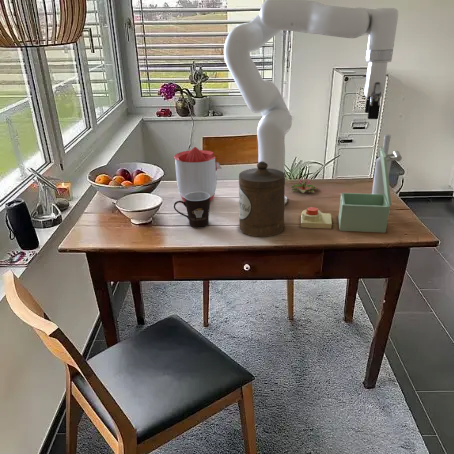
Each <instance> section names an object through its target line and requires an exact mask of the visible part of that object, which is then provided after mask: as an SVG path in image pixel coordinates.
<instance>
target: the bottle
mask: <svg viewBox="0 0 454 454" xmlns="http://www.w3.org/2000/svg"><path fill="white" fill-rule="evenodd" d="M391 136H392V134H388V133H386V134H384V137H383V145H382V148H383V151H384V153H385V155H388V154H389V148H390V142H391V138H392V137H391ZM390 158H391V157H387V158H386V159H390ZM391 166H392V161H389V162H387V168H388V177H389V178H390V171H391ZM372 182H373V183H372V190H371V194H385V192H384V183H383V175H382V166H381V158H380V156H379V157H377V158H376V159H375V168H374V175H373V181H372Z"/></svg>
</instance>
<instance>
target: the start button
mask: <svg viewBox="0 0 454 454" xmlns="http://www.w3.org/2000/svg"><path fill="white" fill-rule="evenodd" d="M306 210H307V214H308V215H317V214H318V210H319V208H318V207H315V206H309V207H307V208H306Z"/></svg>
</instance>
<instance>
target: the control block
mask: <svg viewBox="0 0 454 454" xmlns="http://www.w3.org/2000/svg"><path fill="white" fill-rule="evenodd" d="M332 226H333V223H332V213H328V212H327V213H325V212H322V211H321V210H319V209H318V214H317V215H308V214H307V209H304V210H303V211H302V212H301V217H300V228H309V229H310V228H311V229H332Z"/></svg>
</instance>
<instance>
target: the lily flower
mask: <svg viewBox="0 0 454 454" xmlns="http://www.w3.org/2000/svg"><path fill="white" fill-rule="evenodd" d="M298 180H299V181H300V182H298V183H293V185H291V186H290V187H289V189H291V192H301V194H304V193H305V192H308V193H313V194H314V193H315V191H314V190H318V188H317V187H316V185H315V184H309V183H310V181H309V179H308V178H306V179H305V180H303V179H302V180H301V179H300V178H298Z"/></svg>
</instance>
